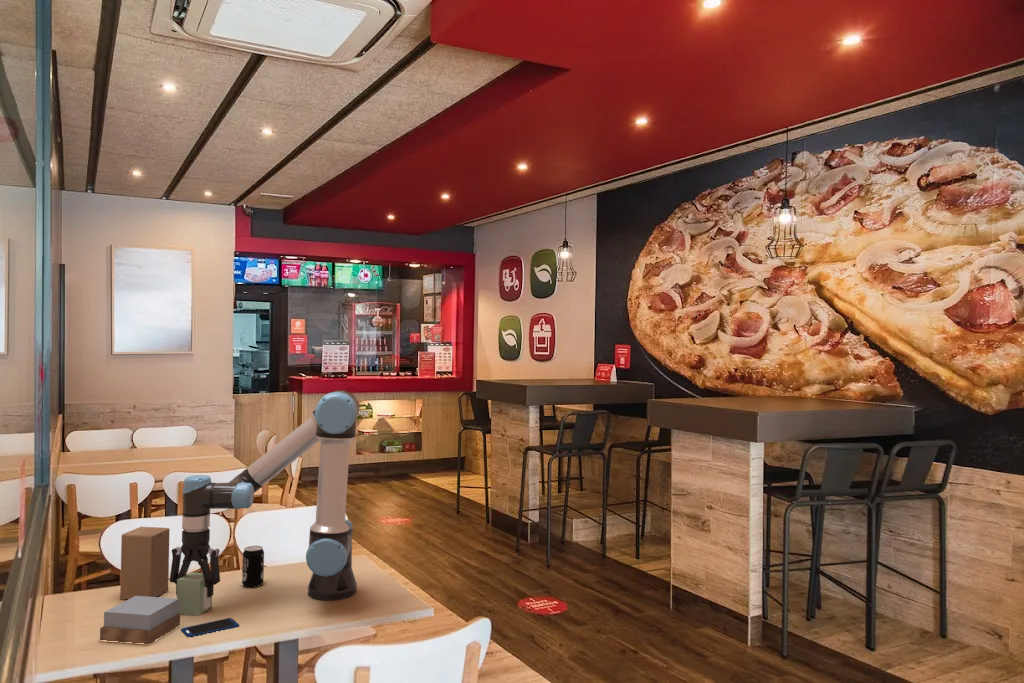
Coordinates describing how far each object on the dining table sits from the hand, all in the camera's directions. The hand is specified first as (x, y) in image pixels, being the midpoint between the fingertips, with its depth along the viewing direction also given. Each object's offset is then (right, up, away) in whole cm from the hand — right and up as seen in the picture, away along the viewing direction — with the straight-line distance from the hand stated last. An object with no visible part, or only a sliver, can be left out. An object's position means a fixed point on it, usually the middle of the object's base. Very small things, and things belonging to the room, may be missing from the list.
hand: (194, 606), depth 219 cm
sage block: (0, -1, 0) cm, 1 cm away
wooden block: (-21, -1, +12) cm, 24 cm away
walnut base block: (-7, -1, -17) cm, 19 cm away
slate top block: (-7, +3, -17) cm, 19 cm away
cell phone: (+10, -2, -13) cm, 16 cm away
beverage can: (+9, -2, +24) cm, 26 cm away
